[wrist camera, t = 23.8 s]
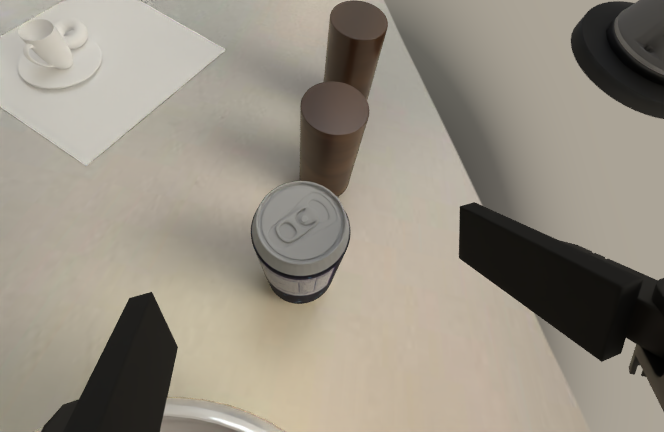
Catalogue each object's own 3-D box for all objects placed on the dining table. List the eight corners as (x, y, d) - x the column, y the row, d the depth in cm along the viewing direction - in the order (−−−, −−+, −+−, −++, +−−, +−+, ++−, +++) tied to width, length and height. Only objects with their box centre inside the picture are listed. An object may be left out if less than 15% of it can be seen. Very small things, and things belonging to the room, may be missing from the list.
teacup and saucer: (74, 24, 37) (49, -13, 33) (125, 56, 35) (105, 21, 32) (4, 68, 33) (-34, 32, 29) (58, 104, 32) (27, 71, 28)
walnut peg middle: (353, 162, 33) (374, 90, 24) (343, 204, 31) (363, 142, 22) (306, 151, 33) (310, 74, 24) (294, 192, 31) (292, 125, 22)
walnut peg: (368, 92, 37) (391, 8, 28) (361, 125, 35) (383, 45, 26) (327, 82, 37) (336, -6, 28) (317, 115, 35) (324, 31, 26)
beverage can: (344, 278, 28) (375, 230, 17) (292, 319, 26) (289, 295, 15) (306, 230, 29) (312, 157, 18) (254, 266, 28) (226, 209, 17)
